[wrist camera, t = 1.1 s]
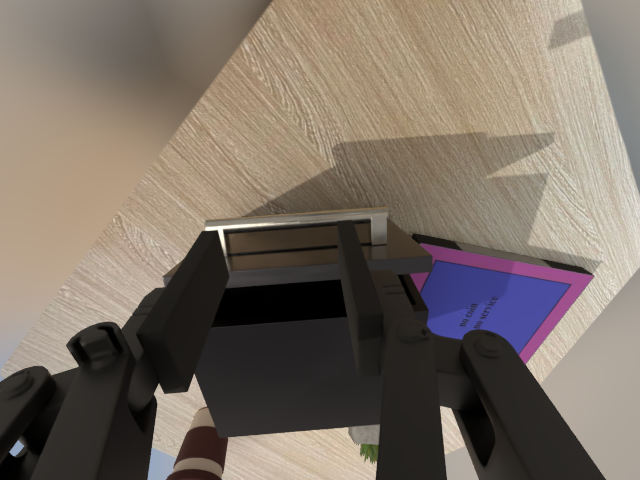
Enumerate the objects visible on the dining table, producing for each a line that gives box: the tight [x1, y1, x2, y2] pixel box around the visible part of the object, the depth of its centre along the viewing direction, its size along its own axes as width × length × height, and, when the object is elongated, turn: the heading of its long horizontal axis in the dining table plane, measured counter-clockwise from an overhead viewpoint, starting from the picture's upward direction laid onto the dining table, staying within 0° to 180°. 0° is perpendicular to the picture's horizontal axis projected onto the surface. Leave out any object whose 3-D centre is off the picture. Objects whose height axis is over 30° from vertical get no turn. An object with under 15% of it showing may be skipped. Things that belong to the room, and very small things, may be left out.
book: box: [410, 233, 594, 365], centre depth 52 cm, size 21×3×30 cm
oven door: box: [163, 206, 433, 288], centre depth 35 cm, size 5×24×18 cm, turn 93°
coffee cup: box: [166, 408, 228, 480], centre depth 58 cm, size 10×10×15 cm
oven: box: [194, 274, 429, 438], centre depth 41 cm, size 18×24×18 cm
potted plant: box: [348, 425, 380, 464], centre depth 59 cm, size 12×13×15 cm
